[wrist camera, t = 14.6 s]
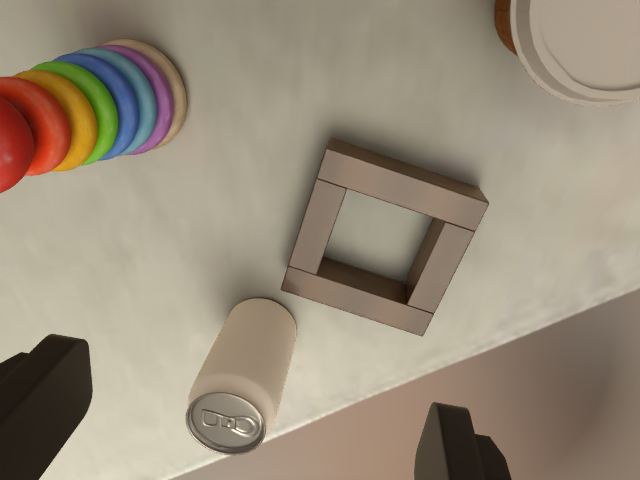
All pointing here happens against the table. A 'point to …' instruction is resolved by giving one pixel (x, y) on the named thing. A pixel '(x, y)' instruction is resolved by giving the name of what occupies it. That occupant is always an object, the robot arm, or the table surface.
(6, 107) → the stacking toy
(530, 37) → the disposable coffee cup
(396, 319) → the can stand
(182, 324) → the table surface
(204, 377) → the can
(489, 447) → the robot arm
